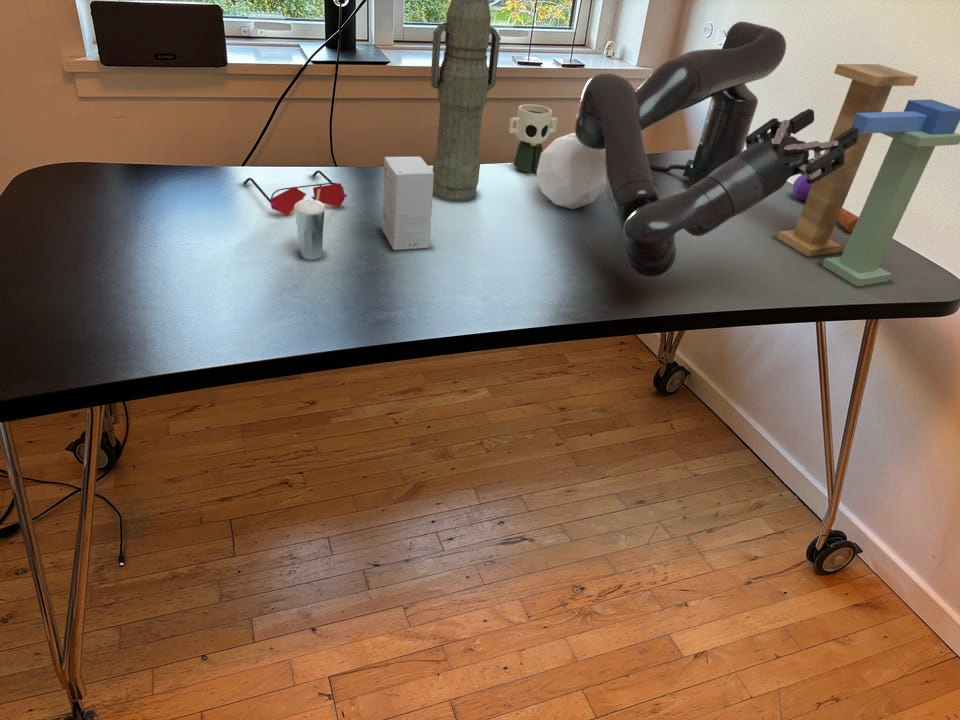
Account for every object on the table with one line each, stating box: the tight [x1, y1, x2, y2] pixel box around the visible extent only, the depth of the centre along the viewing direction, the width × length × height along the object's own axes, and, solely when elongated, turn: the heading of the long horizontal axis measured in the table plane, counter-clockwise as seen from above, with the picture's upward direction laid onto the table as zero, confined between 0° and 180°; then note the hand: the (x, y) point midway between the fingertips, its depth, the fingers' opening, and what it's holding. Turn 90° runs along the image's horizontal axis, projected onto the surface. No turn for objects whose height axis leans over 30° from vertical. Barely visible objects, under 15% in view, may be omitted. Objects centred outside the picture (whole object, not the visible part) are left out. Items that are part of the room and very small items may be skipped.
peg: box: [851, 99, 960, 135], centre depth 109 cm, size 18×6×4 cm, turn 114°
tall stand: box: [776, 63, 918, 258], centre depth 126 cm, size 10×8×32 cm
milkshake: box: [293, 189, 326, 261], centre depth 110 cm, size 4×5×10 cm
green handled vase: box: [430, 0, 501, 203], centre depth 130 cm, size 9×12×35 cm
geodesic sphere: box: [535, 132, 607, 210], centre depth 137 cm, size 15×14×14 cm
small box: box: [381, 156, 434, 251], centre depth 117 cm, size 8×6×13 cm
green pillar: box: [822, 131, 960, 288], centre depth 120 cm, size 10×8×26 cm
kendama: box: [792, 174, 859, 234], centre depth 150 cm, size 6×6×20 cm
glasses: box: [242, 170, 348, 216], centre depth 129 cm, size 14×16×5 cm
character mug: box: [508, 103, 558, 173], centre depth 151 cm, size 11×7×13 cm, turn 109°
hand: (833, 123), depth 104 cm, fingers open, 8 cm apart
